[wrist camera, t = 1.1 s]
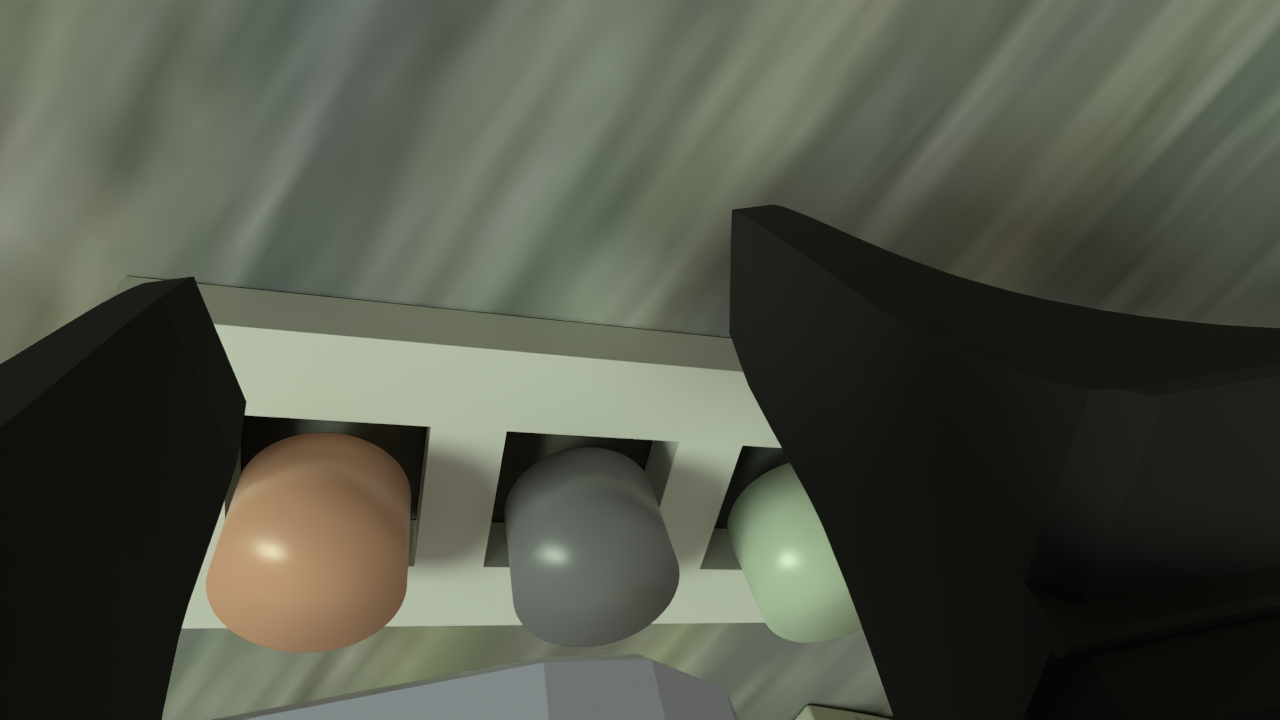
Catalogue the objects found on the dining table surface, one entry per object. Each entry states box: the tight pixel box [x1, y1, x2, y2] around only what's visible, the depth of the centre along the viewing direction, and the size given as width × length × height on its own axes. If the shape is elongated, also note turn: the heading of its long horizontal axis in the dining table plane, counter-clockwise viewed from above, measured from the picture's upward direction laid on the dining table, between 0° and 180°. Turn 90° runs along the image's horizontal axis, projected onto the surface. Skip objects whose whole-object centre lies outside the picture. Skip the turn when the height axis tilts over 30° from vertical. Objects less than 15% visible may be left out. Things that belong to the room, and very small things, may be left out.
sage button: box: [727, 463, 862, 643], centre depth 24 cm, size 4×4×3 cm
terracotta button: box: [206, 432, 411, 652], centre depth 20 cm, size 4×4×3 cm
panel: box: [105, 276, 782, 628], centre depth 24 cm, size 10×24×2 cm, turn 77°
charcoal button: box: [504, 447, 680, 647], centre depth 22 cm, size 4×4×3 cm
